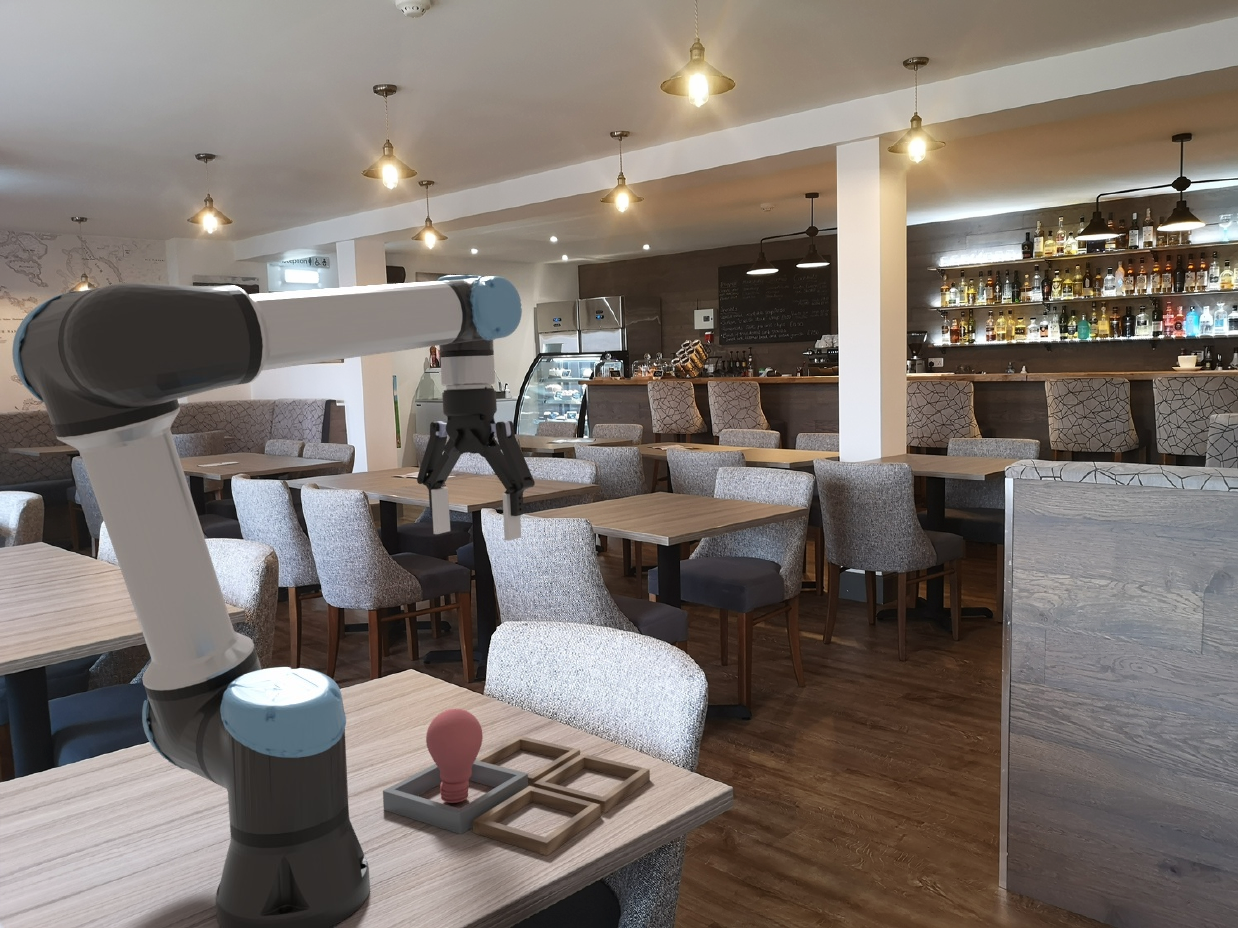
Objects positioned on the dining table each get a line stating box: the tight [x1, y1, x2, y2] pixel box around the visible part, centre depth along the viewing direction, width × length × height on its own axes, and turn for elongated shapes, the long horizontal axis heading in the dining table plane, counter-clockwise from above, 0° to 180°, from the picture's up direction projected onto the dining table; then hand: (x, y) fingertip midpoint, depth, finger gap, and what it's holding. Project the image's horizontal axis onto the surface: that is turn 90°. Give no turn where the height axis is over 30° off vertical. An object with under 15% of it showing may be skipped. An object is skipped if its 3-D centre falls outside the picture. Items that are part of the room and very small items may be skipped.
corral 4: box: [534, 753, 651, 814], centre depth 123 cm, size 11×11×2 cm
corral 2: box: [475, 735, 581, 787], centre depth 130 cm, size 11×11×2 cm
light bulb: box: [425, 708, 484, 804], centre depth 119 cm, size 7×7×12 cm
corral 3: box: [472, 786, 602, 856], centre depth 112 cm, size 11×11×2 cm
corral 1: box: [382, 761, 528, 835], centre depth 119 cm, size 13×13×2 cm
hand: (476, 535), depth 133 cm, fingers open, 13 cm apart
